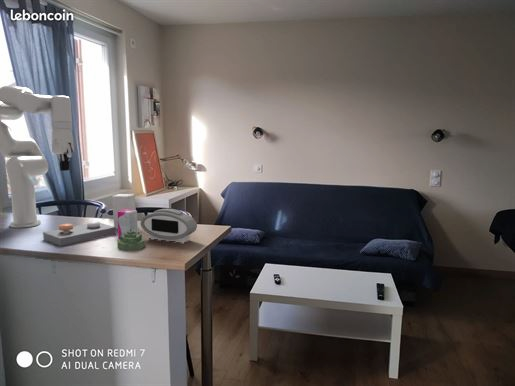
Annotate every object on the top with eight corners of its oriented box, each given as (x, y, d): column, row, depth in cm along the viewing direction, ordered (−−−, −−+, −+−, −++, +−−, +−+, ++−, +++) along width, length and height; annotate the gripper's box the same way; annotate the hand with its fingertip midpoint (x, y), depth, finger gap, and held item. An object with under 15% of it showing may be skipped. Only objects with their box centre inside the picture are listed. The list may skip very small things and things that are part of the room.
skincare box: (137, 227, 189) (136, 194, 187) (130, 231, 183) (129, 196, 180) (120, 226, 191) (118, 193, 188) (112, 229, 184) (111, 195, 182)
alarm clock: (140, 238, 171) (139, 208, 169) (149, 235, 177) (149, 205, 175) (189, 245, 163) (189, 213, 161) (197, 241, 168) (197, 210, 166)
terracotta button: (57, 236, 167) (56, 225, 166) (69, 233, 171) (68, 222, 170) (63, 238, 164) (62, 227, 163) (76, 235, 168) (75, 224, 167)
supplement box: (138, 236, 174) (137, 209, 172) (129, 240, 168) (128, 212, 166) (126, 235, 176) (125, 208, 174) (117, 238, 170) (116, 211, 168)
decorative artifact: (128, 242, 166) (112, 248, 157) (128, 225, 165) (111, 230, 156) (149, 244, 163) (134, 251, 153) (149, 227, 162) (133, 233, 152)
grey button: (85, 233, 176) (84, 222, 176) (96, 230, 180) (95, 220, 180) (91, 235, 173) (91, 224, 173) (103, 232, 177) (102, 222, 177)
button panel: (43, 239, 167) (43, 232, 167) (98, 228, 186) (97, 222, 185) (60, 246, 159) (60, 238, 158) (115, 233, 177) (115, 227, 177)
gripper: (44, 126, 173) (47, 169, 176) (62, 126, 164) (65, 172, 167) (62, 126, 179) (64, 168, 182) (80, 126, 170) (82, 171, 172)
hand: (64, 170), depth 174 cm, fingers closed
